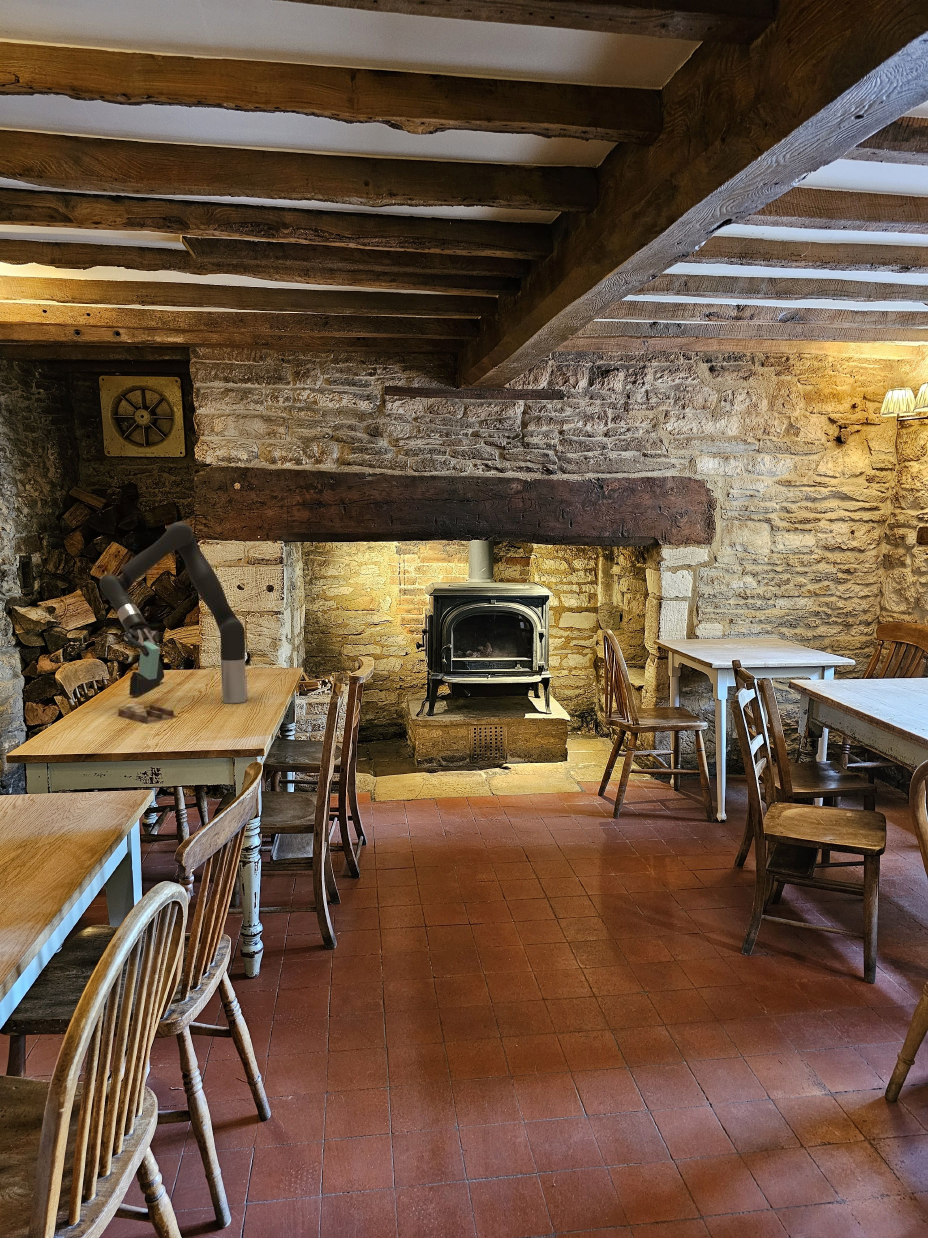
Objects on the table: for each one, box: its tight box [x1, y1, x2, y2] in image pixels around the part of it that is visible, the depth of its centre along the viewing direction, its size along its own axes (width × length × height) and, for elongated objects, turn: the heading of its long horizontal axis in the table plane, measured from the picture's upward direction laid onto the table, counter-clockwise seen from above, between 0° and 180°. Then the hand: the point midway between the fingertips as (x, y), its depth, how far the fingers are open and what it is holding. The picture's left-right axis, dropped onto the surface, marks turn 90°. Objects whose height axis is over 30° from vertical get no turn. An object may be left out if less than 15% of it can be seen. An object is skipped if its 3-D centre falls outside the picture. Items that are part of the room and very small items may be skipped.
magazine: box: [129, 660, 165, 697], centre depth 342 cm, size 17×3×30 cm
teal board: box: [137, 641, 161, 680], centre depth 295 cm, size 7×3×12 cm, turn 54°
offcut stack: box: [125, 703, 147, 716], centre depth 293 cm, size 8×4×4 cm, turn 53°
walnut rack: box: [116, 704, 181, 725], centre depth 294 cm, size 20×13×4 cm, turn 53°
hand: (152, 654), depth 294 cm, fingers closed on teal board, 2 cm apart
